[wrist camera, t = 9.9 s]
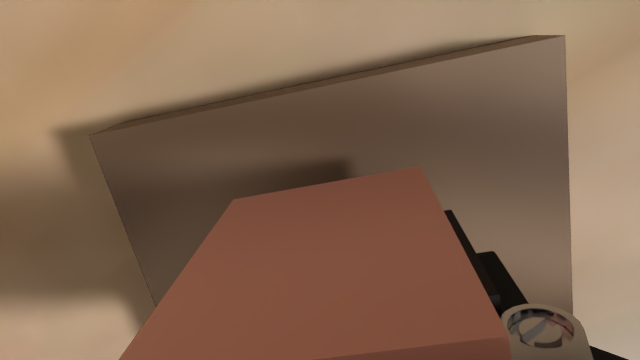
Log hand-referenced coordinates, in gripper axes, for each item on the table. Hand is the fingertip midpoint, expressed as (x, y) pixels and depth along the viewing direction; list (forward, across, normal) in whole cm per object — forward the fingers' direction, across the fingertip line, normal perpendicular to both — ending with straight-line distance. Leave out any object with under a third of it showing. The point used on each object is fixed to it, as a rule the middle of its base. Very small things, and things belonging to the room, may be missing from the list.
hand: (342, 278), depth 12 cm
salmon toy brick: (+1, 0, 0) cm, 1 cm away
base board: (+4, 0, +4) cm, 6 cm away
